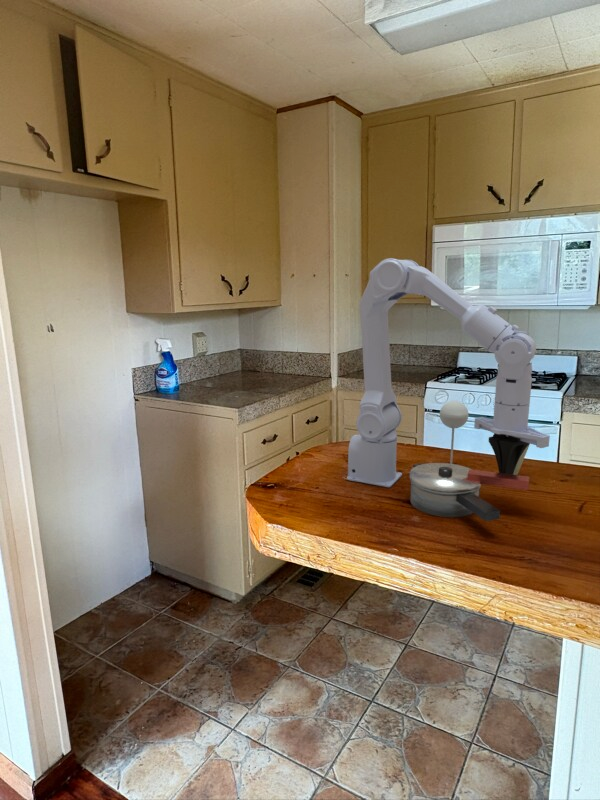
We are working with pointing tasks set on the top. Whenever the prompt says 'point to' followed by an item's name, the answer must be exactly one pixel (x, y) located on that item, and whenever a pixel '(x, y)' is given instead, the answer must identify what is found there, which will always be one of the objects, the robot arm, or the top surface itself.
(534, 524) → the top surface
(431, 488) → the lid
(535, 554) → the top surface
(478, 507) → the pot
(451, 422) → the lollipop
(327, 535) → the top surface
